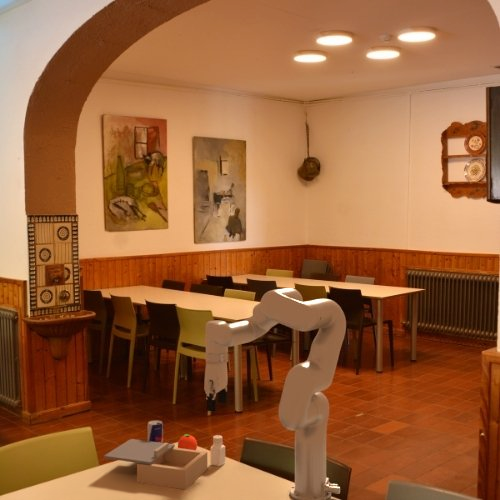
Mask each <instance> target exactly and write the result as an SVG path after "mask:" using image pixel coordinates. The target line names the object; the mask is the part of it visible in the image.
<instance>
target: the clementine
mask: <svg viewBox="0 0 500 500" xmlns="http://www.w3.org/2000/svg"><path fill="white" fill-rule="evenodd" d="M177 448H182V449H189V450H197V449H198V442H197V439H196V438H195V437H194V436H193V435H191V434H187V433H186V434H183V435H182V436H181V437H180V438H179V440H178V442H177Z"/></svg>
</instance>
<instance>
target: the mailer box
mask: <svg viewBox="0 0 500 500" xmlns="http://www.w3.org/2000/svg"><path fill="white" fill-rule="evenodd" d="M136 468H137V469H136V474H137V475H136V478H137V479H136V481H137V483H140V484H141V483H142V484H147V485H153V486H160V487H161V486H162V487H168V488H175V489H180V490H187V488H189V487H190V486H191V485H192V484H193V483H194V482H196V481H197V480H198V479H199V478H200V477H201V476H202V475H203V474H204V473H205V472H206V471H207V470H208V451H205V450H197V449H196V450H189V449H182V448H178V447H174V448H172V449H171V450H170V451H168V452H167V453H166V454H164V455H163V456H162V457H160V458H159V459H158V460H156V461H155V462H154V463H152V464H151V465H149V464H142V463H136Z"/></svg>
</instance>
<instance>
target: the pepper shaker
mask: <svg viewBox="0 0 500 500" xmlns="http://www.w3.org/2000/svg"><path fill="white" fill-rule="evenodd" d="M212 443H213V444H212V445H211V447H210V465H212V466H217V467H222V465H224V464H225V463H226V446H225V445H224V444H223V435H218V434H216V435H213V437H212Z"/></svg>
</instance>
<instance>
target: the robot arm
mask: <svg viewBox="0 0 500 500" xmlns="http://www.w3.org/2000/svg"><path fill="white" fill-rule="evenodd" d="M278 324H281V325H283V326H285V327H288V328H290V329H293V330H295V331H300V332H310V331H314V330H318V331H317V333H316V336H315V337H314V339H313V341H312V343H311V346H310V350H309V354H308V357H307V360H305V361H304V362H300V363H298V364H295V365H294V366H293V367H292V368H290V369H289V370H288V373H287V375H286V376H285V380H284V381H285V382H284V385H283V388H282V389H283V390H282V393H281V396H280V397H281V398H280V401H279V406H278V419H279V421H280V423H281V425H282V426H283V428H285V429H286V430H287V431H288V430H289V431H292V432H293V431H295V433H294V484H293V485H291V487H290V488H289V495H290V496H291V497H292V498H293V499H295V500H329V498H331V496H332V493H333V494H336V495H337V494H338V495H339V494H340V493H341V487H340V486H339V484H338V483H331V482H330V481H329V480H330V478H329V477H327V431H328V429H327V427H328V421H329V416H330V403H329V400H328V398H327V396H326V395H325V394H324V393H323V392H322V391H324V390H325V391H326V390H327V389H328V388H329V387H330V386H331V385H332V383H333V379H334V377H335V372H336V368H337V364H338V362H339V358H340V357H339V356H340V351H341V348H342V345H343V342H344V340H345V335H346V329H347V320H346V316H345V313H344V311H343V310H342V307H341V306H340V305H339V304H338V303H337V302H336V301H334V300H332V299H329V298H317V299H312V300H306V301H305V300H304V299H303V296H302V294H301V293H300V292H299V290H297V289H295V288H293V287H284V288H278V289H277V288H276V289H272V290H269V291H266V292H265V293H264V294H263V296H262V297H261V299H260V302H259V303H257V304H256V305H254V307H253V308H252V316H250V317H248V318H246V319H244V320H240V321H234V322H229V323H227V322H226V321H225V320H219V319H218V320H209V321H207V322H206V323H205V371H204V386H203V387H204V392H205V399H206V411H207V412H213V413H214V412H216V411H217V403H218V404H225V405H226V404H227V403H228V380H229V377H228V364H227V363H228V362H229V348H230V347H236V346H239V345H242V344H246V343H247V344H248V343H251V342H252V341H254V340H256V339H258V338H260V337H262V336H264V335H265V334H267V333H268V332H269V331H270V329H272V328H273V327H274V326H276V325H278ZM216 396H217V399H216Z"/></svg>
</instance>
